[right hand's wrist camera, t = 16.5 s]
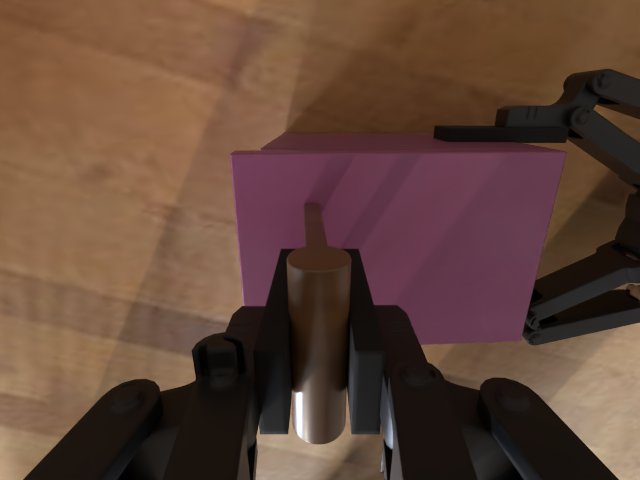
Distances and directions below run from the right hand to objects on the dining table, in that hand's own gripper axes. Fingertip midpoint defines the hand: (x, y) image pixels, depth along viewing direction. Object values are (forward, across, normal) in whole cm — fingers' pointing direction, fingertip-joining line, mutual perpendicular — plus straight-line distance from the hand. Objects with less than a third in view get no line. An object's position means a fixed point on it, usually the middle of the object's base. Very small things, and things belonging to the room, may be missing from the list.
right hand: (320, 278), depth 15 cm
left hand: (+8, -7, 0) cm, 11 cm away
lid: (+3, -4, 0) cm, 5 cm away
